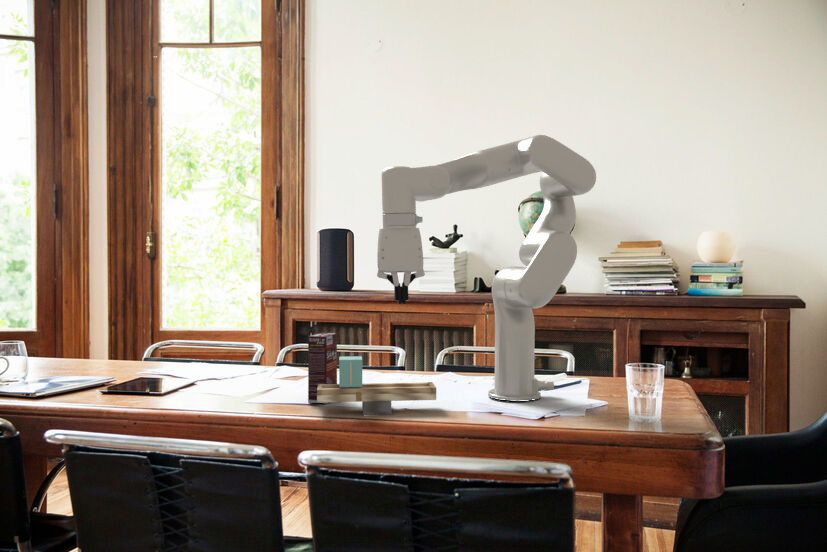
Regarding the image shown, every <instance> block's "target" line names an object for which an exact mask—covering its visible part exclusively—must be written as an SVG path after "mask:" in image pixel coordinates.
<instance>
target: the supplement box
mask: <svg viewBox="0 0 827 552" xmlns="http://www.w3.org/2000/svg"><path fill="white" fill-rule="evenodd" d="M337 336H338V333H336V332H319V333H315V334H313V335H308V337H307V340H308V341H307V344H308V349H307V350H308V351H307V356H308V358H307V359H308V361H307V363H308V365H307V367H308V368H307V370H308V371H307V372H308V373H307V376H308V378H307V380H308V383H307V385H308V386H307V390H308V391H307V392H308V393H307V394H308V395H307V397H308V398H307V403H308V404H312V403H323V404H322V405H327V404H328V403H329V402H317V387H318V384H338V341H337V340H338V337H337Z"/></svg>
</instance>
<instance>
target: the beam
mask: <svg viewBox="0 0 827 552" xmlns="http://www.w3.org/2000/svg"><path fill="white" fill-rule="evenodd" d="M398 401H399V402H401V401H437V386H436V385H435V384H434V382H433V381H427V382H383V383H382V382H381V383H378V382H377V383H376V382H375V383H362V387H360V388H342V387H339V383H337V384H318V387H317V402H328V403H349V402H350V403H352V402H354V403H355V402H356V403H357V402H358V403H359V402H360V403H361V407H362V408H361V409H362V414H364V415H378V416H392V402H398ZM364 415H363V416H364Z"/></svg>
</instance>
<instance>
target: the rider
mask: <svg viewBox="0 0 827 552" xmlns="http://www.w3.org/2000/svg"><path fill="white" fill-rule="evenodd" d="M338 359H339V361H338V363H339V365H338V368H339V369H338V372H339V373H338V376H339V378H338V380H339V383H338V384H339V387H342V388H360V387H362V384H363V357H362V356H361V355H360V356H354V355H353V356H352V355H351V356H350V355H349V356H339V358H338Z"/></svg>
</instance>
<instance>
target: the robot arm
mask: <svg viewBox="0 0 827 552" xmlns="http://www.w3.org/2000/svg"><path fill="white" fill-rule="evenodd" d="M537 173H541V174H540V178H539V186H540V191H541V193H542V199H543V208H542V211H541V213H540V215H539V217H538V218H537V220H536V222H535V223H534V225H533V226H532V228H531V229H530V230H529V232H528V234H527V235H526V236H525V238H524V240H523V241H522V243H521V245H520V247H519V250H518V258H519V260H520V261H521V263H522V264H523V265H524V266H508V267H507V266H506V267H504V268H503V269H501V270H500V271H498V272H497V273H496V274H495V276H494V277H493V280H492V284H491V296H492V303H493V308H494V309H493V310H494V388H492V389H490V390H488V392H487V395H488V398H490V397H491V398H490V399H492V398H498V399H505V400H532V399H538V398H540V399H541V398H542V397H541V395H542V394H541V391H542V390H547V391H549V390H551V391H552V390H554V389H555V383H554V381H546V380H539V379H537V378H536V377H535V340H536V339H535V335H536V333H535V332H536V329H535V328H536V327H535V323H536V322H535V316H534V312H533V309H539V308H543V307H544V306H546V305H547V304H548V303H550V301H551V300H553V298H554V297H555V295H556V294H557V292H558V290H559V289H560V287H561V285H562V284H563V283H564V281H565V279H566V278H567V277H568V275H569V273H570V271H571V270H572V268H573V266H574V265H575V263H576V260H577V256H578V246H577V243H576V239H575V238H574V236H572V234H571V232H572V229H573V228H574V227H575V224H576V219H577V210H576V204H575V200H574V197H575V196H581V195H585V194H586V193H589V192H590V191H591V190H592V189H593V188H594V186H595V185H596V182H597V173H596V169H595V167H594V166H593V164H592V163H591V162H590V161H589V160H588V159H586V158H585V157H583V156H582V155H580V154H579V153H578V152H576V151H575V150H573V149H571V148H569V147H568V146H566V145H565V144H563V143H561V142H560V141H558V140H556V139H555V138H552V137H550V136H548V135H547V134H546V135H545V134H544V135H543V134H537V135H534V136H530V137H529V136H528V137H526V138H524V139H523V138H522V139H519V140H515V141H512V142H509V143H505V144H501V145H496V146H493V147H488V148H485V149H481V150H477V151H475V152H470V153H468V154H466V155H464V156H461V157H458V158H455V159H452V160H450V161H446V162H443V163H441V164H436V165H427V166H419V167H409V166H400V165H399V166H388V167H385V168H384V169H383V170H382V171H381V201H382V202H381V204H382V205H381V206H382V208H381V210H382V228H379V231H378V237H377V239H378V240H377V259H376V260H377V273H376V276H377V278H378V279H379V278H380V279H384V280H387V281H389V282H390V283H391V284H392V285H393V292H394V293H393V294H394V301H397V305H402V304H403V305H407V301H409V286H410V284H411V283H413V281H414V280H416V279H418V278H422V277H424V276H425V270H424V251H423V243H422V242H423V241H422V237H421V236H422V235H421V231H420V227H417V225H418V224H420V223H423V216H419V215H417V206H416V205H417V202H419V203H420V202H426V201H433V200H437V199H442V198H443V197H444V196H446V195H449V194H450V195H451V194H454V193H457V192H462V191H469V190H477V189H482V188H485V187H489V186H493V185H496V184H500V183H503V182H506V181H510V180H515V179H517V178H520V177H524V176H528V175H532V174H537ZM398 273H403V280H402V282H401V283H400V281H399V276H398ZM538 400H539V399H538Z"/></svg>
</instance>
